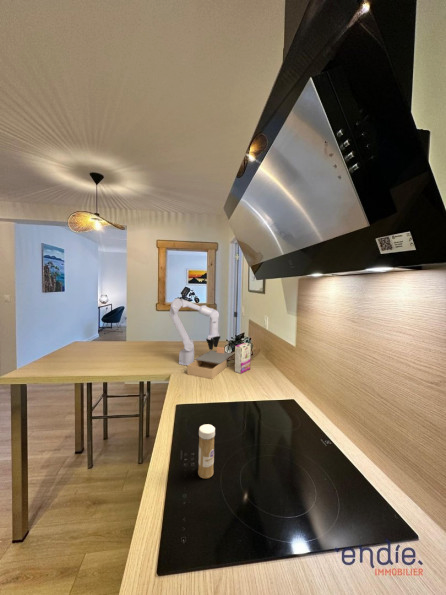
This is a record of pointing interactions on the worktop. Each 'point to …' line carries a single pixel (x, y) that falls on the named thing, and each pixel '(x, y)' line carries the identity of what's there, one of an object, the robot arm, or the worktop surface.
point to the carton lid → (215, 356)
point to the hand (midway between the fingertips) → (213, 348)
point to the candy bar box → (242, 357)
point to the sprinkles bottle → (206, 450)
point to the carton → (206, 369)
